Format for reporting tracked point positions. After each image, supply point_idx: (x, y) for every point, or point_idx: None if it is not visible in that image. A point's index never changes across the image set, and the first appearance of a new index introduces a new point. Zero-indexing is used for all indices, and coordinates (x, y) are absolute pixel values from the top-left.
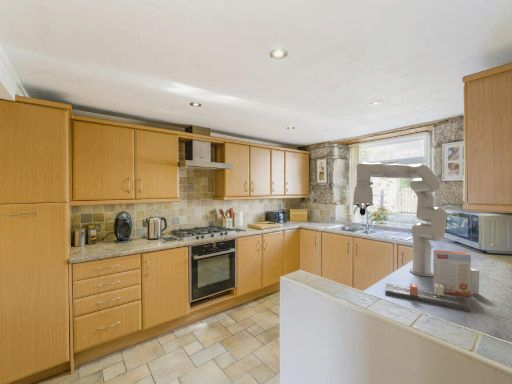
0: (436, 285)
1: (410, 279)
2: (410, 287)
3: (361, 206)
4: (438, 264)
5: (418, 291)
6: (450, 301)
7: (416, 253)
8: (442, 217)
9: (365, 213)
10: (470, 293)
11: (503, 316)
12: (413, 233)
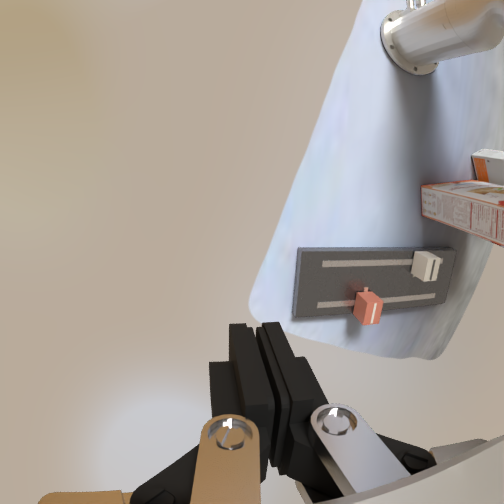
0: (427, 274)
1: (377, 124)
2: (362, 323)
3: (251, 462)
4: (477, 236)
5: (379, 271)
6: (424, 296)
7: (443, 37)
8: None
9: (303, 362)
10: (477, 180)
11: (474, 284)
12: (494, 1)
